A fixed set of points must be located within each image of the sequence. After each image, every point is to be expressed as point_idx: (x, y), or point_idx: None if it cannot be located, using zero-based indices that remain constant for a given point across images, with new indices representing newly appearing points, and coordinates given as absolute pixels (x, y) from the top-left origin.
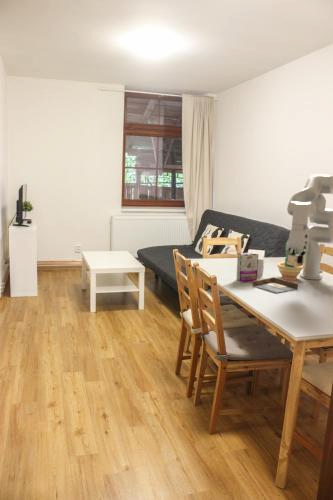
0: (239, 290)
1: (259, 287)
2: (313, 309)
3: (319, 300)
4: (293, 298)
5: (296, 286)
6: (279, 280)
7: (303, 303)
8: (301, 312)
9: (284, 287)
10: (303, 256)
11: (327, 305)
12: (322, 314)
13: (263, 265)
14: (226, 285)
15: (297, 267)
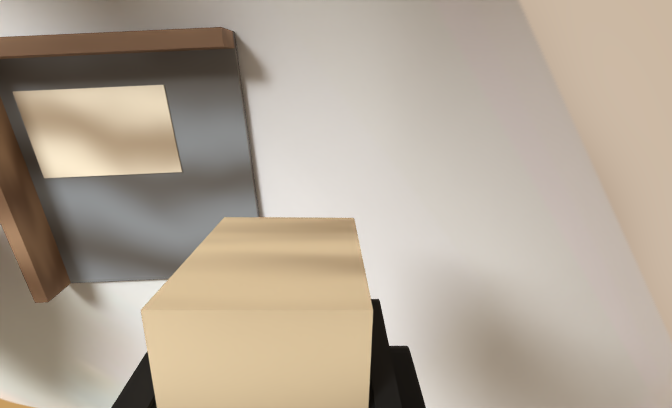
0: None
1: (120, 279)
2: (569, 314)
3: (513, 147)
4: (387, 257)
5: (225, 47)
6: (26, 56)
7: (481, 281)
8: (548, 386)
9: (175, 122)
10: (368, 341)
11: (598, 193)
12: (635, 335)
13: None
14: (13, 385)
15: None
